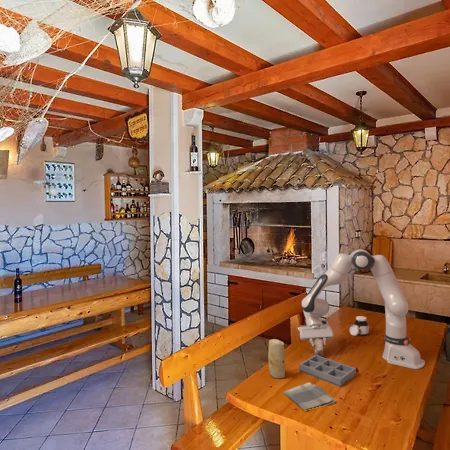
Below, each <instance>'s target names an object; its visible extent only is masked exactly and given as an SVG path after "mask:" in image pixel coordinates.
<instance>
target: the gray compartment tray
mask: <svg viewBox="0 0 450 450" xmlns="http://www.w3.org/2000/svg"><path fill="white" fill-rule="evenodd" d="M298 371H299V372H301V373H304V374H306V375H309V376H311V377H314V378H316V379H320V380H322V381H324V382H327V383H329V384H332V385H335V386H337V387H339V386H340V387H339V388H341V387H342V386H344V385H346V384H347V383H348V382H349V381H350V380H351V379H353V378H354V377H356V375H357V368H356V367H353V366H350V365H347V364H343V363H341V362H339V361H335V360H332V359H330V358H325V357H323V356H318V355H315V354H314V355H313V356H310V357H309V358H307V359H306V360H304V361H302V362H301V363H299V365H298Z"/></svg>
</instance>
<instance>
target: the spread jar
mask: <svg viewBox="0 0 450 450" xmlns="http://www.w3.org/2000/svg"><path fill="white" fill-rule="evenodd" d="M369 330H370V323H369V321H367V317H366V316H361V315H358V316H355V320H354V321H353V325H351V326H350V327H349V330H348V331H349V333H350V334H351V336H354V337H355V336H363V337H364V336H367V335H368V334H369Z"/></svg>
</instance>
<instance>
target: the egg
mask: <svg viewBox="0 0 450 450" xmlns="http://www.w3.org/2000/svg"><path fill="white" fill-rule="evenodd" d="M323 342H324V341H323V339H316V340H314V343H315V347H314V355H318V356H321V357H323V355H324V346H323Z"/></svg>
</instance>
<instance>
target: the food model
mask: <svg viewBox="0 0 450 450" xmlns="http://www.w3.org/2000/svg"><path fill="white" fill-rule="evenodd" d="M285 353H286V352H285V343H284V341H281V340H279V339H276V338H273V339H269V340H268V357H267V358H268V369H269V373H270V375H271V377H272V378H274V379H283V378H285V375H286V372H285V371H286V362H285V361H286V354H285Z"/></svg>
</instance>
